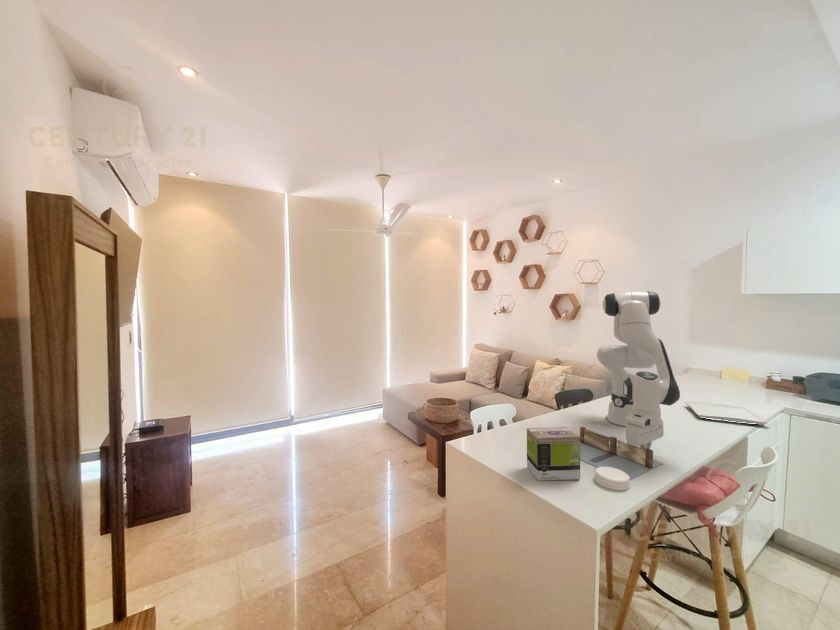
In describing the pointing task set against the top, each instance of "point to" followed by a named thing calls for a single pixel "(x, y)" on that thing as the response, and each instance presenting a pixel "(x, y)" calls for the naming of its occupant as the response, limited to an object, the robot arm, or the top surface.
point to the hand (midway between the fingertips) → (645, 452)
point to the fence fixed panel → (598, 440)
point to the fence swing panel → (635, 454)
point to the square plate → (760, 420)
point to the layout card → (612, 460)
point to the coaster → (612, 478)
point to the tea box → (553, 453)
